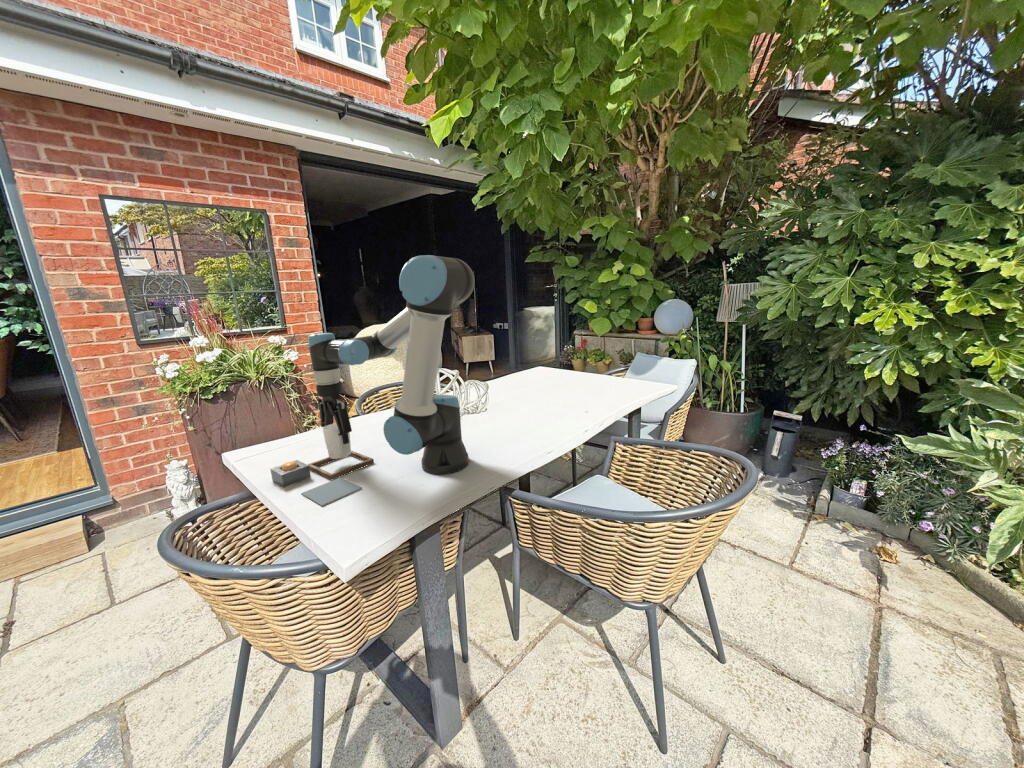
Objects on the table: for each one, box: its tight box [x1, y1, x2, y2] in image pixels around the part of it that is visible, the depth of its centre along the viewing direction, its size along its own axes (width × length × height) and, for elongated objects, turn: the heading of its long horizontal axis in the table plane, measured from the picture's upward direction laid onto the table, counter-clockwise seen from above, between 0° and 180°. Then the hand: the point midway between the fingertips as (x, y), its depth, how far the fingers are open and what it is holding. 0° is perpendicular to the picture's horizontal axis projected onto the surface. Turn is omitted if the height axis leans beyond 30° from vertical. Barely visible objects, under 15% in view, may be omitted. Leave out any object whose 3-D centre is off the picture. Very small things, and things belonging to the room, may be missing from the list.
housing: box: [270, 459, 311, 488], centre depth 123 cm, size 8×8×4 cm
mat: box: [300, 476, 363, 508], centre depth 114 cm, size 12×12×1 cm
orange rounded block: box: [281, 460, 297, 472], centre depth 123 cm, size 4×4×4 cm
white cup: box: [321, 422, 352, 460], centre depth 129 cm, size 8×8×10 cm
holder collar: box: [307, 450, 375, 481], centre depth 131 cm, size 15×15×2 cm
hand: (339, 450), depth 130 cm, fingers closed on white cup, 7 cm apart
